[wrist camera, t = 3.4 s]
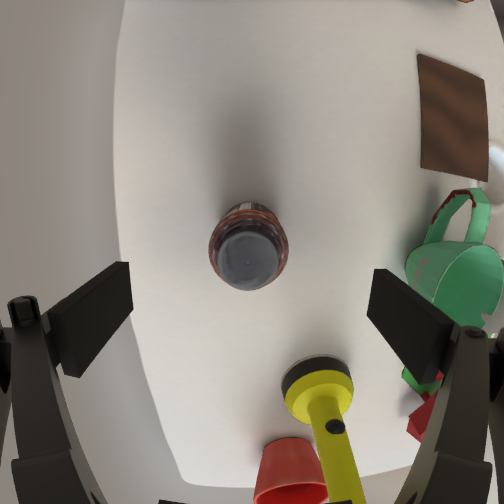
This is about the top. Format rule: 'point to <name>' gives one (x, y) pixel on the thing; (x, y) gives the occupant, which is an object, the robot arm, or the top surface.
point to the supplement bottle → (248, 247)
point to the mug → (458, 264)
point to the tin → (465, 1)
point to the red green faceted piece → (423, 413)
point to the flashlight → (326, 419)
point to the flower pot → (290, 474)
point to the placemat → (453, 120)
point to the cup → (495, 316)
